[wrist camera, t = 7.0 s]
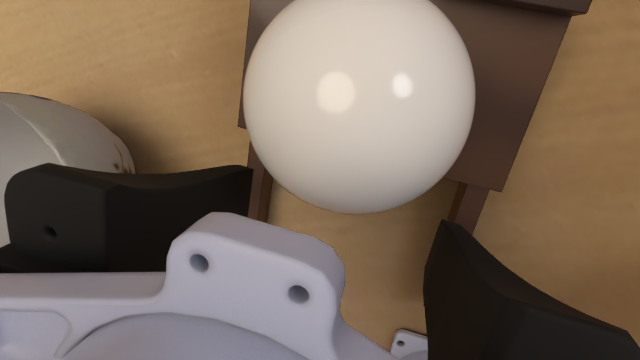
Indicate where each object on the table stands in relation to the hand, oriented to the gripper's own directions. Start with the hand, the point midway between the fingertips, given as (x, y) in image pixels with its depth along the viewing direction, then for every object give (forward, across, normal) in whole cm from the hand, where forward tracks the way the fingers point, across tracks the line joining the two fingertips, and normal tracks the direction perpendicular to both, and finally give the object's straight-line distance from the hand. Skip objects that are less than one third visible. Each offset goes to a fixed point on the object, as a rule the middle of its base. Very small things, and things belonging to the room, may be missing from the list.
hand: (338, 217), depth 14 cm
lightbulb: (+6, 0, -4) cm, 8 cm away
